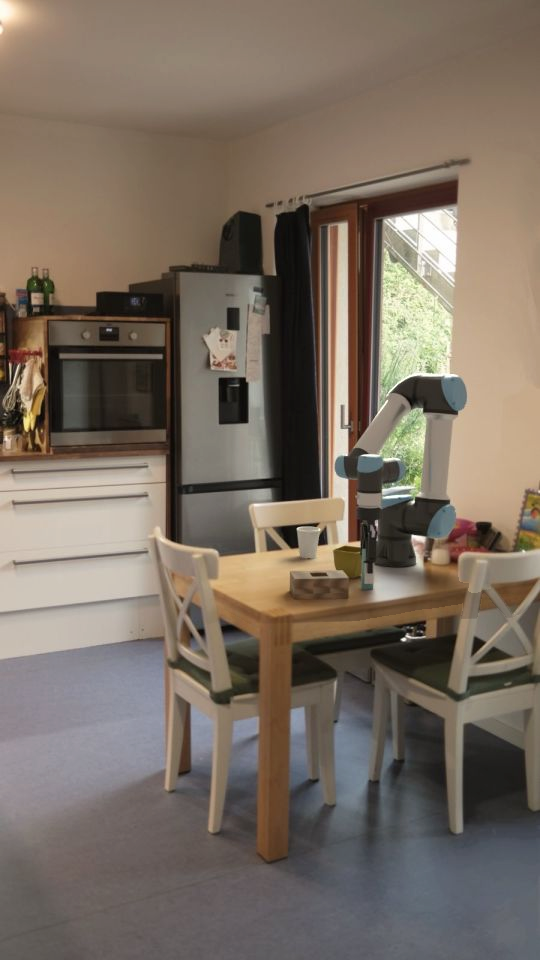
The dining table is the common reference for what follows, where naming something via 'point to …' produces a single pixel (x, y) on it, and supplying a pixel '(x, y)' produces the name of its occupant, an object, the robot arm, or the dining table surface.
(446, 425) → the robot arm
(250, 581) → the dining table surface
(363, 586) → the pin
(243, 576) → the dining table surface
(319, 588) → the block
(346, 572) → the flower pot
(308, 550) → the dixie cup
